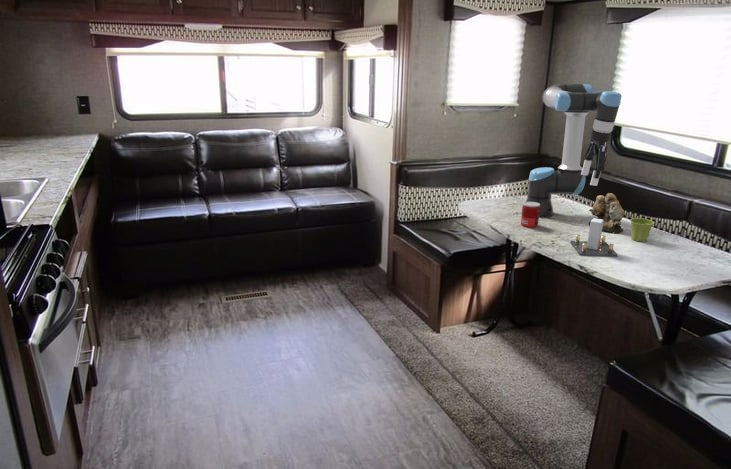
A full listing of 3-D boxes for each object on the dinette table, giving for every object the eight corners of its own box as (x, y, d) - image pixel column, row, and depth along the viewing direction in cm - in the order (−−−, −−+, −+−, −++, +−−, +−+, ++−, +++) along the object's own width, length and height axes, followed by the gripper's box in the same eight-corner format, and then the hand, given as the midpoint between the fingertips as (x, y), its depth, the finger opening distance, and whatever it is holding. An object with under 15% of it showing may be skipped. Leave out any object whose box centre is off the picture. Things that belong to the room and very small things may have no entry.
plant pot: (641, 244, 233) (644, 225, 230) (622, 238, 241) (625, 219, 238) (655, 241, 237) (658, 222, 234) (636, 235, 245) (639, 217, 242)
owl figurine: (580, 225, 260) (585, 190, 254) (596, 221, 265) (601, 188, 260) (612, 235, 245) (618, 199, 240) (629, 231, 250) (635, 196, 245)
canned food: (538, 228, 254) (541, 206, 251) (521, 227, 256) (523, 205, 252) (537, 223, 262) (539, 202, 258) (520, 222, 263) (522, 201, 259)
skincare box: (597, 250, 224) (601, 223, 220) (586, 248, 226) (590, 221, 222) (599, 246, 229) (603, 219, 225) (589, 244, 231) (593, 217, 227)
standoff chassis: (570, 243, 235) (571, 233, 234) (605, 244, 234) (607, 234, 232) (579, 255, 221) (580, 245, 220) (617, 256, 220) (618, 246, 218)
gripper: (621, 139, 207) (607, 190, 216) (602, 124, 229) (589, 171, 238) (602, 137, 207) (588, 188, 216) (584, 122, 230) (572, 170, 239)
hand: (588, 180), depth 227 cm, fingers open, 13 cm apart
